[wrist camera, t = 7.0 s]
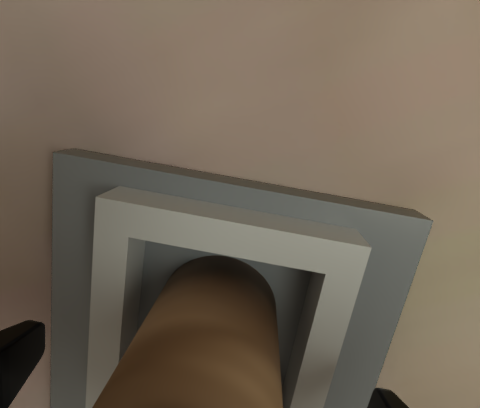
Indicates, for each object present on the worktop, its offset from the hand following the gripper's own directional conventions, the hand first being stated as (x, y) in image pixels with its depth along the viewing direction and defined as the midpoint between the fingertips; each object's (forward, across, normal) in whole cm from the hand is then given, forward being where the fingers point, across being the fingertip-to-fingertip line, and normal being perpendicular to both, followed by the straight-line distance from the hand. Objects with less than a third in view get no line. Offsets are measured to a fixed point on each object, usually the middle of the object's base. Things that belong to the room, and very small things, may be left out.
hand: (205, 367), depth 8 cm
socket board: (+4, 0, +6) cm, 7 cm away
